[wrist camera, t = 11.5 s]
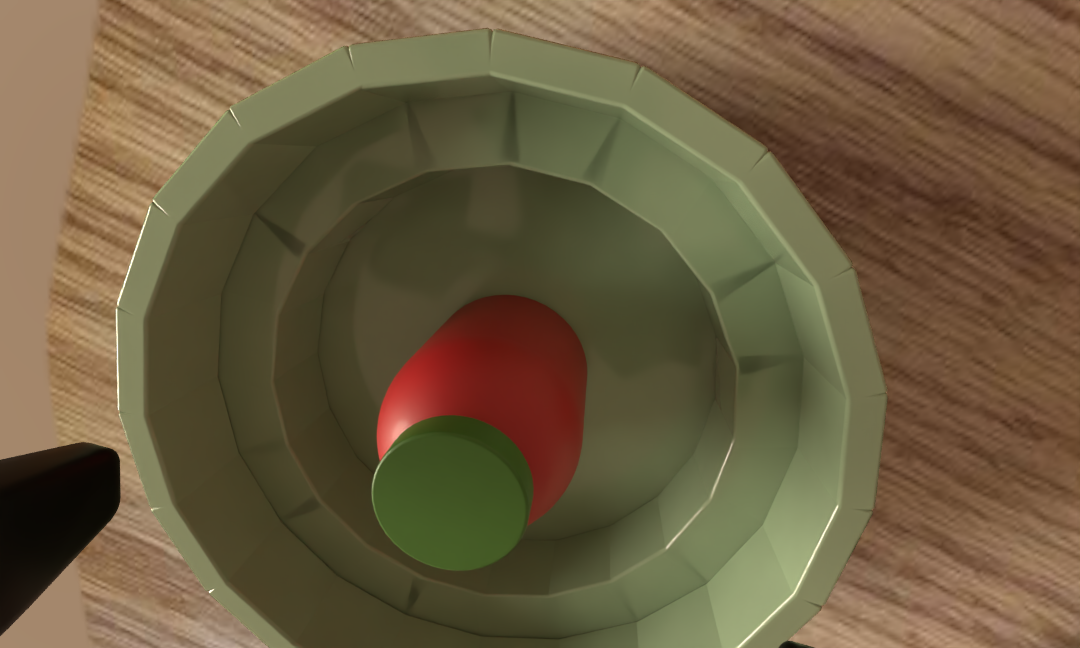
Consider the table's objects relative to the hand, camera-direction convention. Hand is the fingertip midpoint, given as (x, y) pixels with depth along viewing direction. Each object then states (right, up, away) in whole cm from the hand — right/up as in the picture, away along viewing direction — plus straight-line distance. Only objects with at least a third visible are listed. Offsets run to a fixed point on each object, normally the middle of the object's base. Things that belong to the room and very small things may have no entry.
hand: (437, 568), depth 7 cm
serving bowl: (+1, +2, +7) cm, 7 cm away
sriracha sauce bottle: (+1, +2, +6) cm, 6 cm away
